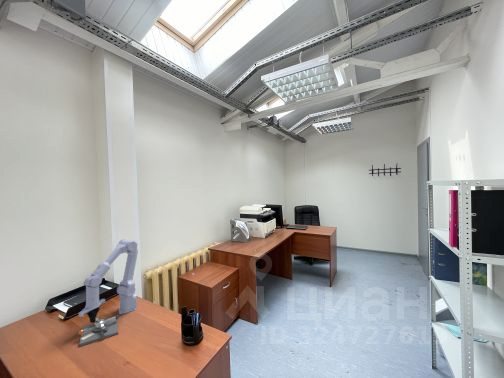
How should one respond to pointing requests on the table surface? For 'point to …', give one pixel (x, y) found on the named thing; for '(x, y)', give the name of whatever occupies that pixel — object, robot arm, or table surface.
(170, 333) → the table surface
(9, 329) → the table surface
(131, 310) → the robot arm
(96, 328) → the silver metal piece
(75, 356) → the table surface
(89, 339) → the stand plate
